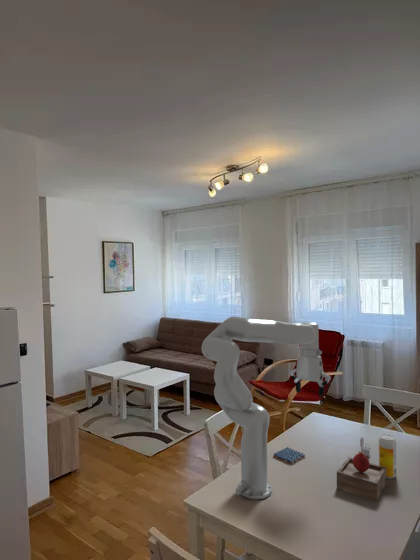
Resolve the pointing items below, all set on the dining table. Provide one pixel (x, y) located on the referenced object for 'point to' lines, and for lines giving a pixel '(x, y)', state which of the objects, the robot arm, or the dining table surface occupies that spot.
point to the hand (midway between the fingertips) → (309, 393)
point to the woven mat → (289, 456)
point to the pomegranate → (361, 462)
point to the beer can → (388, 454)
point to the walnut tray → (362, 480)
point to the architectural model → (364, 448)
